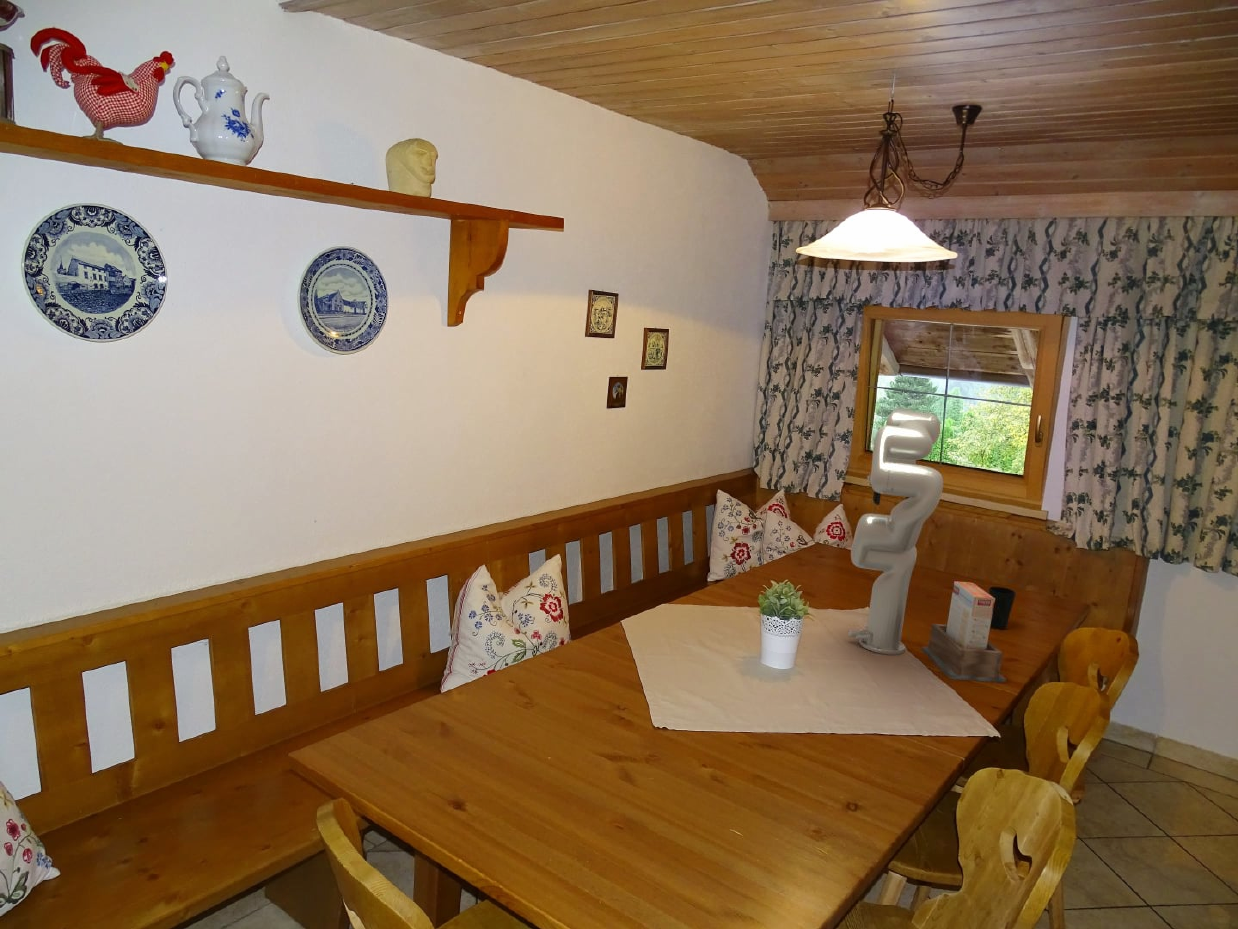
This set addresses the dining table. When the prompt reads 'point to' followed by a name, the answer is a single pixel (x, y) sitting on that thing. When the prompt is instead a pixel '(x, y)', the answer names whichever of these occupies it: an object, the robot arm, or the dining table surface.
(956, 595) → the cracker box
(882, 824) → the dining table surface
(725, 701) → the dining table surface
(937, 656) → the box stand
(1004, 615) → the cup
